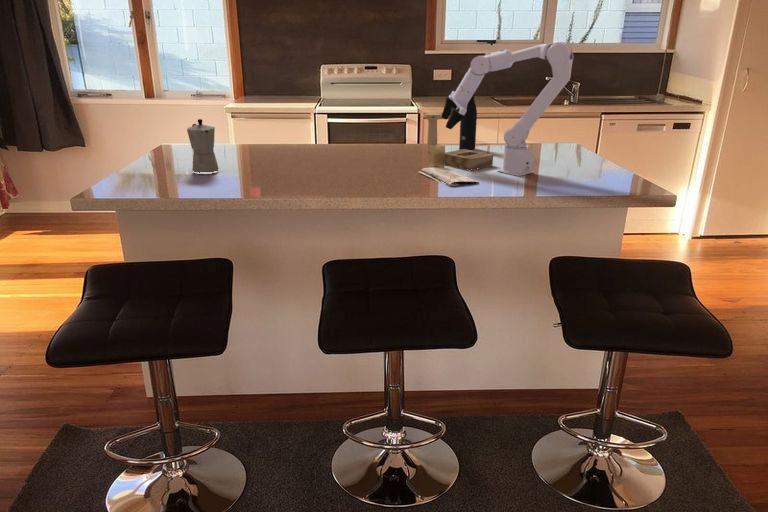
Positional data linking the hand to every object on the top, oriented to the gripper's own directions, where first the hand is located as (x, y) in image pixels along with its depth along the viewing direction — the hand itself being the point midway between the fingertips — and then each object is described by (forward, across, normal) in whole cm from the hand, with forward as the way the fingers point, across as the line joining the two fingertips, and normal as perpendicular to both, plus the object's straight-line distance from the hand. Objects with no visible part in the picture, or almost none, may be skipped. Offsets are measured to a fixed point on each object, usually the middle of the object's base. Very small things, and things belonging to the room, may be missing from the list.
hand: (445, 123), depth 206 cm
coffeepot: (+50, +2, -69) cm, 85 cm away
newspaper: (+10, +22, +1) cm, 25 cm away
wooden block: (+13, +8, +2) cm, 16 cm away
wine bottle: (+14, -22, +24) cm, 36 cm away
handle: (+19, -18, +9) cm, 28 cm away
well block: (+9, +5, +13) cm, 17 cm away
